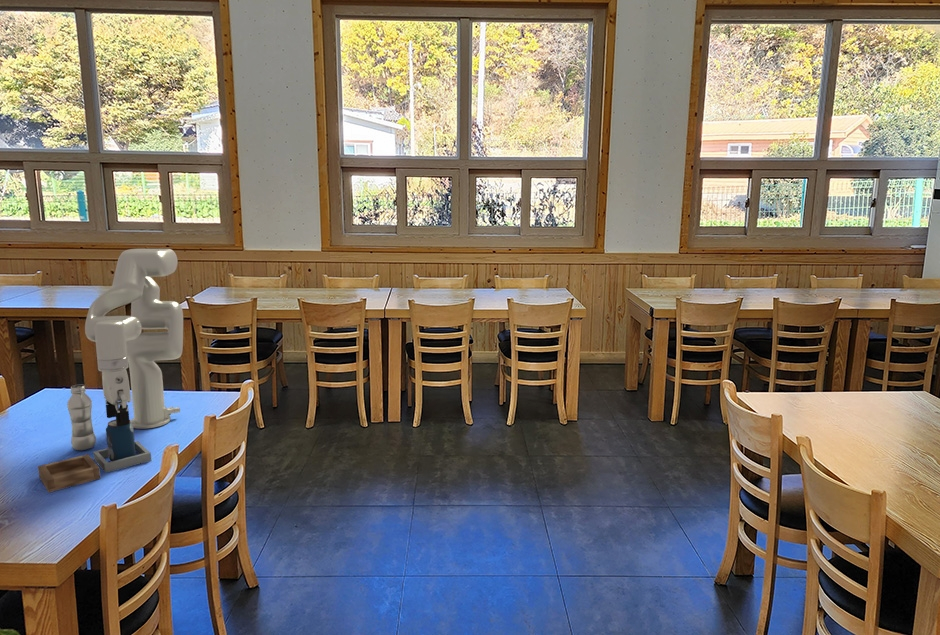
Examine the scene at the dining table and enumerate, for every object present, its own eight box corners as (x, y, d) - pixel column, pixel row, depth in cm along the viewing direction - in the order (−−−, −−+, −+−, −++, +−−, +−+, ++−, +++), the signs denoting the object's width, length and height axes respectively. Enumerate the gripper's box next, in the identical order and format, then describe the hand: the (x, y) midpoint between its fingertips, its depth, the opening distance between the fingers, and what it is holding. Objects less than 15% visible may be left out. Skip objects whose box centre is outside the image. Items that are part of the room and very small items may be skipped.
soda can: (140, 455, 183) (137, 417, 181) (128, 465, 176) (124, 426, 174) (117, 455, 183) (113, 417, 180) (104, 465, 176) (100, 426, 174)
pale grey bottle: (70, 454, 183) (63, 390, 179) (73, 446, 189) (66, 384, 185) (95, 450, 186) (89, 388, 182) (97, 442, 192) (91, 382, 188)
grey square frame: (138, 448, 188) (137, 441, 187) (151, 460, 179) (150, 452, 179) (94, 459, 179) (93, 451, 179) (105, 472, 171) (104, 464, 171)
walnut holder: (89, 464, 176) (87, 454, 175) (100, 478, 168) (99, 467, 167) (39, 477, 168) (37, 466, 167) (48, 492, 159) (47, 480, 159)
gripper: (136, 366, 170) (141, 425, 173) (118, 356, 182) (123, 411, 185) (106, 371, 165) (112, 431, 168) (90, 360, 177) (95, 416, 180)
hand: (118, 420), depth 176 cm, fingers open, 9 cm apart
